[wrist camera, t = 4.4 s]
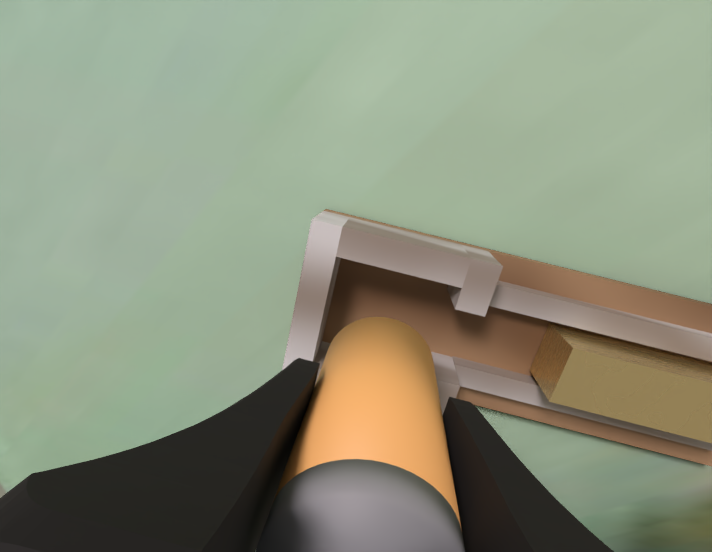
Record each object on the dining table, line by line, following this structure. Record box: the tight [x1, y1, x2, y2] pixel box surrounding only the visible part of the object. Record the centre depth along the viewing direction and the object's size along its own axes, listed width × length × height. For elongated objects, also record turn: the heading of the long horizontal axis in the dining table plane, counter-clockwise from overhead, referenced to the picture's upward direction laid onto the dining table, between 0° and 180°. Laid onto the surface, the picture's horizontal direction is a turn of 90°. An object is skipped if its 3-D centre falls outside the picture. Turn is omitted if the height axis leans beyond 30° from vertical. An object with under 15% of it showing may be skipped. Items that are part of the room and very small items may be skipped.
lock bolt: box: [530, 323, 712, 443], centre depth 17 cm, size 2×8×2 cm, turn 77°
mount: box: [282, 209, 712, 466], centre depth 17 cm, size 8×21×3 cm, turn 77°
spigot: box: [256, 317, 465, 552], centre depth 10 cm, size 4×4×7 cm
